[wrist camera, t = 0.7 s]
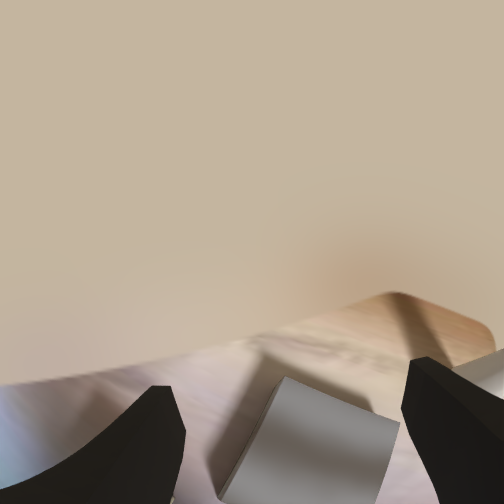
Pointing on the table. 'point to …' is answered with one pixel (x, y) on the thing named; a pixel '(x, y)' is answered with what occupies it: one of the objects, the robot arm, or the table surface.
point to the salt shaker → (485, 372)
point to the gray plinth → (312, 452)
